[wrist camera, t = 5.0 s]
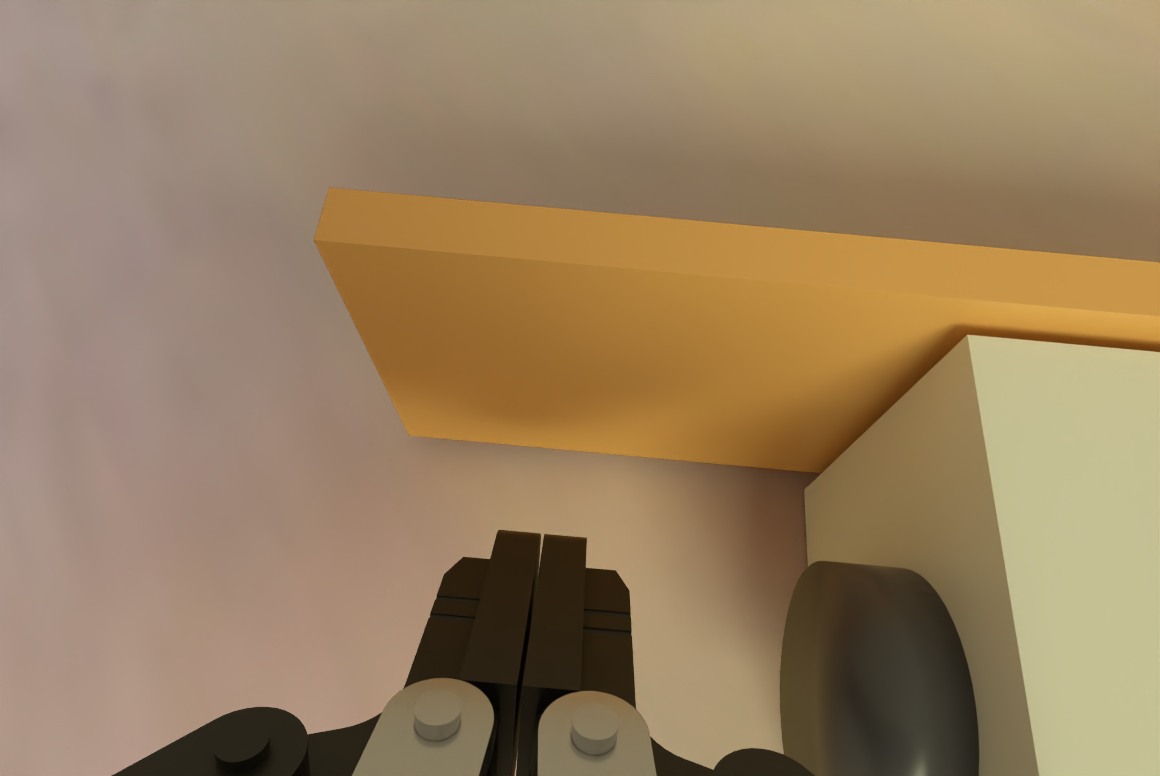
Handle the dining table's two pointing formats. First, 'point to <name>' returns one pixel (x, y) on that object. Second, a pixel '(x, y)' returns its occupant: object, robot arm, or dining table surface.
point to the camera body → (986, 575)
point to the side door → (686, 323)
